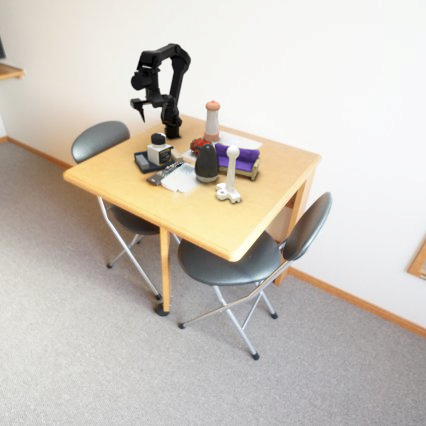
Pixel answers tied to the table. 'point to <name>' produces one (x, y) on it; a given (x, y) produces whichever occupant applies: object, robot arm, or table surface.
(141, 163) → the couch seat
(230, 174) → the joystick
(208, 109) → the pepper shaker
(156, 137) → the medicine bottle
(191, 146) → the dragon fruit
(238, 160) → the toy sofa
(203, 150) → the dark grey tapered dome
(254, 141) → the table surface
